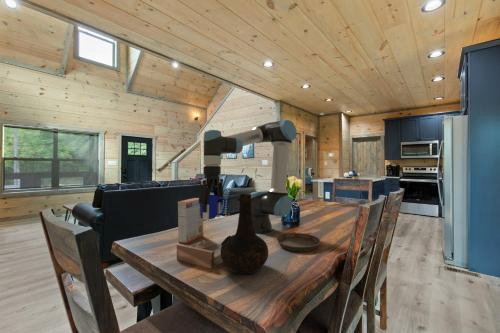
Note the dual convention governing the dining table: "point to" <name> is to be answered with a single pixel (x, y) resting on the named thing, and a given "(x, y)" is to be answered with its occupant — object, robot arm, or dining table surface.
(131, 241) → the dining table surface
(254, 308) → the dining table surface
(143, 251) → the dining table surface
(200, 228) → the cracker box
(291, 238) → the plant saucer
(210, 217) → the mug
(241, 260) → the dark brown vase
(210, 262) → the channel
